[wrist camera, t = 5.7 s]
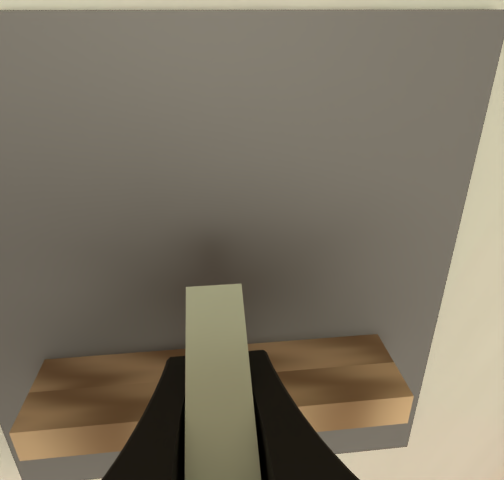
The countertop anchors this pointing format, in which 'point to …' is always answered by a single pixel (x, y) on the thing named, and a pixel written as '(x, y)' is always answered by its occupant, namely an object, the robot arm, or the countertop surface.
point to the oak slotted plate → (152, 363)
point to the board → (232, 182)
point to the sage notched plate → (218, 387)
